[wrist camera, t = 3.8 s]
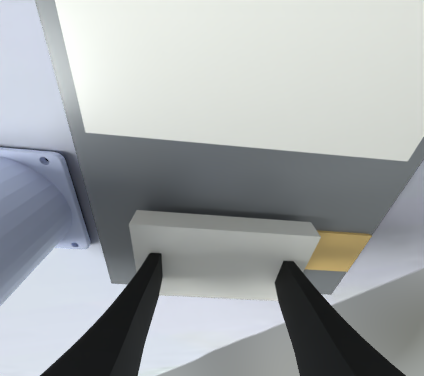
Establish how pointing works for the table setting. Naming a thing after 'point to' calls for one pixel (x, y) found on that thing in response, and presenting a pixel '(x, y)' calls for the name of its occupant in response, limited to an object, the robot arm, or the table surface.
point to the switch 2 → (220, 252)
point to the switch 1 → (252, 72)
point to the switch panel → (226, 183)
